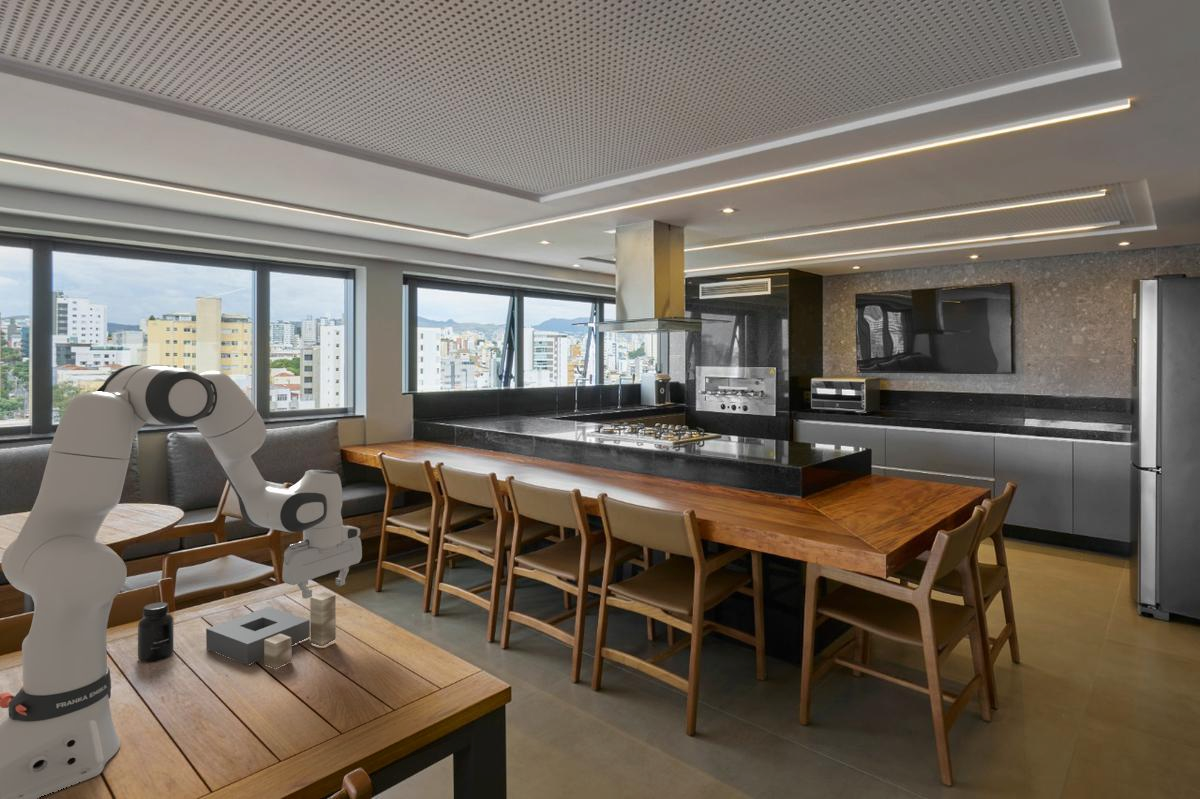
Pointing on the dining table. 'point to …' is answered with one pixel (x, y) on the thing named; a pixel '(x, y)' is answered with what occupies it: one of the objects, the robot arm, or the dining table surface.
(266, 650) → the short pin
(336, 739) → the dining table surface
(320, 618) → the tall pin
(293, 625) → the socket block
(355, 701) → the dining table surface
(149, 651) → the supplement bottle
